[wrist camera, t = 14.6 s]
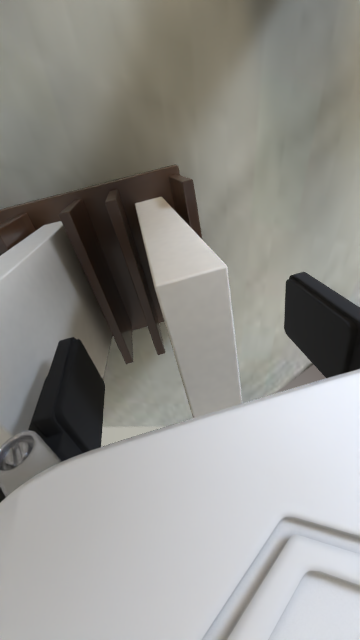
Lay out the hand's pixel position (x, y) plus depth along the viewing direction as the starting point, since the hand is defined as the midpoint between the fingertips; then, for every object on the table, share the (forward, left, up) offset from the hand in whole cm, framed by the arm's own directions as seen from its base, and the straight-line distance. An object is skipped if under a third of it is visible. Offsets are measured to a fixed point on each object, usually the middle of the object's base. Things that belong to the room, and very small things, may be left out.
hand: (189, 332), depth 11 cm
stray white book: (0, 0, -11) cm, 11 cm away
